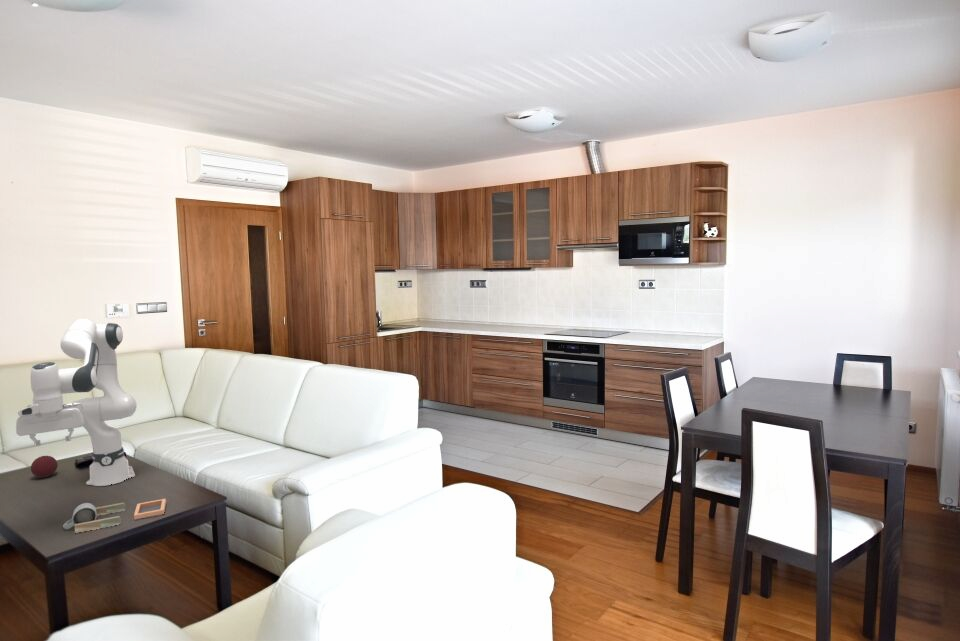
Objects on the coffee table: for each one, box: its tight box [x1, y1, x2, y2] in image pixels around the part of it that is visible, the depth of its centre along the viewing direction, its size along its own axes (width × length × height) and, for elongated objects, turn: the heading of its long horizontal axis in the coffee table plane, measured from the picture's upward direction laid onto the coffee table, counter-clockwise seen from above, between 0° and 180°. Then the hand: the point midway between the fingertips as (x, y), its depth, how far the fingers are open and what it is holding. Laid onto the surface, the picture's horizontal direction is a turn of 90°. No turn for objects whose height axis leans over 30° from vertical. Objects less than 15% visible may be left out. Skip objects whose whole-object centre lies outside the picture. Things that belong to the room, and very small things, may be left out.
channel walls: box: [73, 502, 126, 534], centre depth 217 cm, size 15×14×3 cm
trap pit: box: [133, 498, 167, 521], centre depth 225 cm, size 12×10×2 cm
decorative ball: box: [30, 455, 58, 479], centre depth 266 cm, size 10×10×10 cm
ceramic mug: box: [62, 502, 98, 530], centre depth 215 cm, size 11×8×8 cm
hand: (53, 443), depth 212 cm, fingers open, 8 cm apart
